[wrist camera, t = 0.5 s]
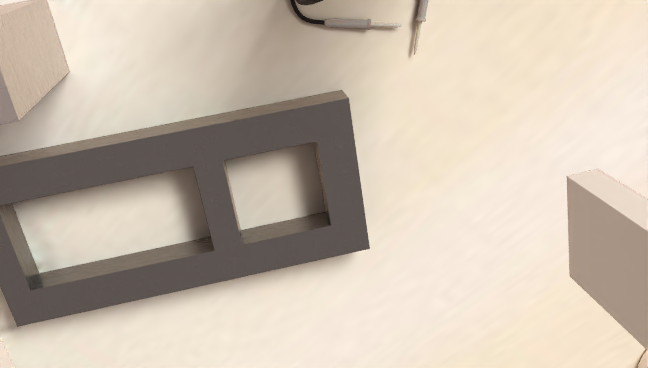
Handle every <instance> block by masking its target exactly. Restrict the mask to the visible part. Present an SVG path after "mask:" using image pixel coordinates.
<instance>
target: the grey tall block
mask: <svg viewBox="0 0 648 368" xmlns="http://www.w3.org/2000/svg"><path fill="white" fill-rule="evenodd" d="M69 72H70V71H69V67H68V64H67V61H66V58H65V55H64V52H63V49H62V46H61V42H60V39H59V36H58V33H57V30H56V27H55V24H54V20H53V17H52V14H51V11H50V8H49V5H48V2H47V0H29V1H23V2H17V3H12V4H6V5H0V124H5V123H10V122H15V121H19V120H20V119H21V118H22V117H23V116H24V115H25V114H26V113H28V112H29V111H30V110H31V109H32V108H33V107H34V106H35V105H36V104H37V103H38V102H39V101H40V100H41V99H42V98H43V97H44V96H45V95H46V94H47V93H48V92H49V91H50V90H51V89H52V88H53V87H54V86H55V85H56V84H57V83H58V82H59V81H60V80H61V79H62V78H63V77H64V76H65V75H67V74H68V73H69Z"/></svg>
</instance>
